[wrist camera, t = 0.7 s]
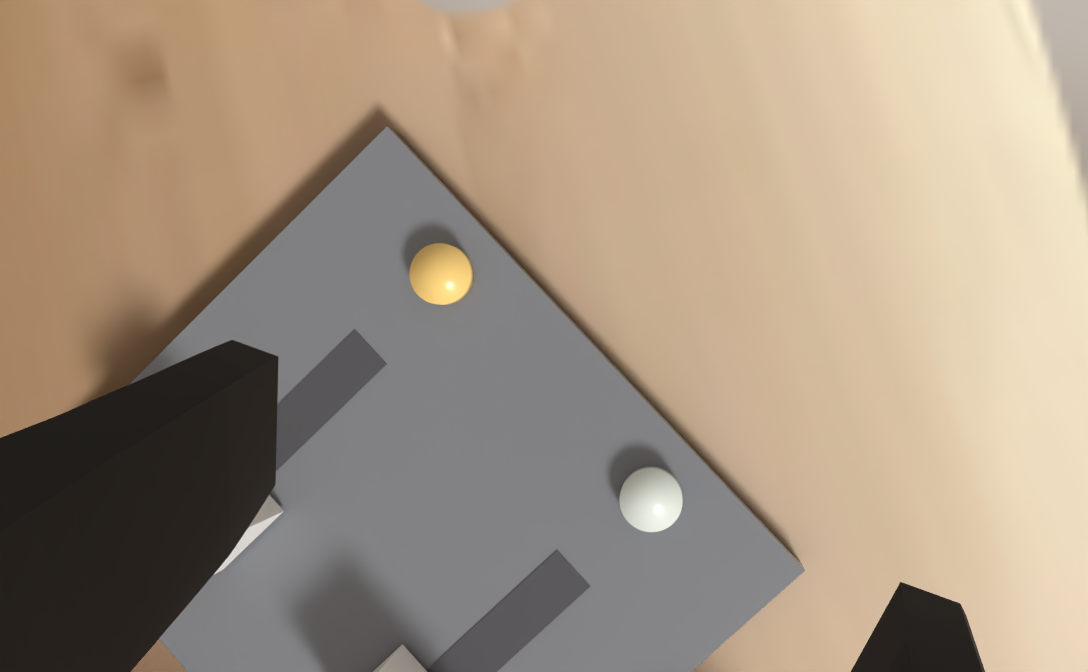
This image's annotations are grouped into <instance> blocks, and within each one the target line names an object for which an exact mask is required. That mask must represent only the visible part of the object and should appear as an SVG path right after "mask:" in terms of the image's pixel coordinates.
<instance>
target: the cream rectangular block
mask: <svg viewBox="0 0 1088 672" xmlns="http://www.w3.org/2000/svg"><path fill="white" fill-rule="evenodd" d="M373 672H427V671H426V670H425V669H424V668H423V666H422V665H421V664H420V663H419V662H418V661H417V660H416V659H415V657H414V656H413V655H412V654H411V653H410V652H409V651H408V650H407V648H406V647H405V646H404V645H403V644H402V645H401V646H400V647H399V648H398V649H397V650H396V651H394V652H393V653H392V654H391V655H390V656H389V657H388V658H387V659H386V660H385V661H384V662H383V663H382V664H380V665H379V666H378V667H377V668H376V669H375V670H374V671H373Z"/></svg>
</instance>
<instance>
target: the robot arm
mask: <svg viewBox="0 0 1088 672" xmlns="http://www.w3.org/2000/svg"><path fill="white" fill-rule="evenodd" d="M278 359H279V356H276V355H273V354H270V353H268V352H265V351H262V350H259V349H257V348H254V347H251V346H248V345H246V344H243V343H240V342H237V341H234V340H230V341H228V342H225V343H223V344H220V345H218V346H215V347H213V348H211V349H208V350H206V351H204V352H201V353H199V354H197V355H194V356H192V357H190V358H188V359H185V360H183V361H181V362H179V363H177V364H174V365H172V366H170V367H168V368H165V369H163V370H161V371H159V372H157V373H154V374H152V375H150V376H148V377H145V378H143V379H141V380H139V381H137V382H134V383H132V384H130V385H128V386H125V387H123V388H121V389H118V390H116V391H114V392H111V393H109V394H107V395H105V396H102V397H100V398H98V399H95V400H93V401H91V402H88V403H86V404H84V405H81V406H79V407H77V408H75V409H72V410H70V411H68V412H65V413H63V414H61V415H58V416H56V417H53V418H51V419H48V420H46V421H43V422H41V423H38V424H35V425H33V426H30V427H28V428H25V429H22V430H20V431H17V432H15V433H12V434H10V435H7V436H4V437H2V438H0V672H131V670H132V669H133V668H134V667H135V666H136V665H137V663H138V662H139V661H140V660H141V659H142V658H143V656H144V655H145V654H146V653H147V652H148V651H149V650H150V648H151V647H152V646H153V645H154V644H155V643H156V641H157V640H158V639H159V638H160V637H161V636H162V634H163V633H164V632H165V631H166V630H167V629H168V627H169V626H170V625H171V624H172V623H173V622H174V621H175V619H176V618H177V617H178V616H179V615H180V614H181V612H182V611H183V610H184V609H185V608H186V607H187V605H188V604H189V603H190V602H191V601H192V599H193V598H194V597H195V596H196V595H197V594H198V592H199V591H200V590H201V589H202V588H203V586H204V585H205V584H206V583H207V582H208V581H209V579H210V578H211V577H212V576H213V575H214V573H215V572H216V571H217V570H218V569H219V567H220V566H221V565H222V564H223V563H224V561H225V560H226V559H227V558H228V557H229V555H230V554H231V552H232V551H233V549H234V548H235V547H236V545H237V544H238V542H239V541H240V539H241V538H242V536H243V535H244V533H245V532H246V530H247V529H248V527H249V526H250V524H251V523H252V521H253V520H254V518H255V516H256V515H257V513H258V512H259V510H260V509H261V507H262V505H263V504H264V502H265V501H266V499H267V497H268V496H269V494H270V493H271V491H272V490H273V488H274V486H275V485H276V444H277V401H278ZM851 672H985V670H984V667H983V664H982V661H981V659H980V656H979V653H978V650H977V647H976V644H975V641H974V638H973V635H972V632H971V629H970V626H969V623H968V620H967V617H966V614H965V612H964V610H963V608H962V606H961V604H960V603H957V602H954V601H951V600H949V599H946V598H943V597H940V596H938V595H935V594H932V593H929V592H927V591H924V590H921V589H918V588H916V587H913V586H910V585H907V584H905V583H902V582H900V584H899V586H898V588H897V590H896V591H895V593H894V595H893V597H892V599H891V600H890V602H889V604H888V606H887V608H886V609H885V611H884V613H883V615H882V617H881V618H880V620H879V622H878V624H877V626H876V627H875V629H874V631H873V633H872V635H871V636H870V638H869V640H868V642H867V644H866V645H865V647H864V649H863V651H862V653H861V654H860V656H859V658H858V660H857V662H856V663H855V665H854V667H853V669H852V670H851Z"/></svg>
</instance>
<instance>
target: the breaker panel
mask: <svg viewBox="0 0 1088 672" xmlns="http://www.w3.org/2000/svg"><path fill="white" fill-rule="evenodd" d="M230 340H234V341H237V342H240V343H243V344H246V345H248V346H251V347H254V348H257V349H259V350H262V351H265V352H268V353H270V354H273V355H276V356H279V359H278V401H277V444H276V485H275V486H274V488H273V490H272V491H271V493H270V494H269V495H270V496H271V497H272V498H273V499H274V500H275V502H276V503H277V504H278V505H279V506H280V507H281V508H282V509H283V510H284V512H283V513H281V514H280V515H279V516H278V517H277V518H276V519H275V520H274V521H273V522H272V523H271V524H270V525H269V526H268V527H267V528H266V529H265V530H264V531H263V532H262V533H261V534H260V535H259V536H258V537H257V538H256V539H254V540H253V541H252V542H251V543H250V544H249V545H248V546H247V547H246V548H245V549H244V550H243V551H242V552H241V553H240V554H239V555H238V556H237V557H236V558H235V559H234V560H233V561H232V562H231V563H230V564H228V565H227V566H226V567H225V568H224V569H223V570H222V571H220V572H218V573H216V574H214V575H213V576H212V577H211V578H210V579H209V581H208V582H207V583H206V584H205V585H204V586H203V588H202V589H201V590H200V591H199V592H198V594H197V595H196V596H195V597H194V598H193V599H192V601H191V602H190V603H189V604H188V605H187V607H186V608H185V609H184V610H183V611H182V612H181V614H180V615H179V616H178V617H177V618H176V619H175V621H174V622H173V623H172V624H171V625H170V626H169V627H168V629H167V630H166V631H165V632H164V633H163V634H162V636H161V637H160V638H159V639H160V641H161V642H162V643H163V644H164V645H165V646H166V647H167V649H168V650H169V651H170V652H171V653H172V654H173V656H174V657H175V658H176V659H177V660H178V661H179V663H180V664H181V665H182V666H183V667H184V668H185V669H186V671H187V672H373V671H374V670H375V669H376V668H377V667H378V666H379V665H380V664H382V663H383V662H384V661H385V660H386V659H387V658H388V657H389V656H390V655H391V654H392V653H393V652H394V651H396V650H397V649H398V648H399V647H400V646H401V645H402V644H403V645H404V646H405V647H406V648H407V650H408V651H409V652H410V653H411V654H412V655H413V656H414V657H415V659H416V660H417V661H418V662H419V663H420V664H421V665H422V666H423V668H424V669H425V670H426V671H427V672H692V671H693V670H694V669H695V668H696V667H697V666H698V665H699V664H700V663H702V662H703V661H704V660H705V659H706V658H707V657H708V656H709V655H711V654H712V653H713V652H714V651H715V650H716V649H717V648H718V647H720V646H721V645H722V644H723V643H724V642H725V641H726V640H727V639H729V638H730V637H731V636H732V635H733V634H734V633H735V632H736V631H738V630H739V629H740V628H741V627H742V626H743V625H744V624H745V623H747V622H748V621H749V620H750V619H751V618H752V617H753V616H754V615H756V614H757V613H758V612H759V611H760V610H761V609H762V608H763V607H764V606H766V605H767V604H768V603H769V602H770V601H771V600H772V599H773V598H775V597H776V596H777V595H778V594H779V593H780V592H781V591H782V590H784V589H785V588H786V587H787V586H788V585H789V584H790V583H791V582H793V581H794V580H795V579H796V578H797V577H798V576H799V575H800V574H802V573H803V572H804V571H805V570H804V568H803V566H802V564H801V563H800V562H799V561H798V559H797V558H796V557H795V556H794V555H793V554H792V553H791V552H790V551H789V550H788V549H787V548H786V547H785V546H784V545H783V544H782V542H781V541H780V540H779V539H778V538H777V537H776V536H775V535H774V534H773V533H772V532H771V531H770V530H769V529H768V528H767V527H766V526H765V524H764V523H763V522H762V521H761V520H760V519H759V518H758V517H757V516H756V515H755V514H754V513H753V512H752V511H751V510H750V509H749V507H748V506H747V505H746V504H745V503H744V502H743V501H742V500H741V499H740V498H739V497H738V496H737V495H736V494H735V493H734V492H733V490H732V489H731V488H730V487H729V486H728V485H727V484H726V483H725V482H724V481H723V480H722V479H721V478H720V477H719V476H718V475H717V473H716V472H715V471H714V470H713V469H712V468H711V467H710V466H709V465H708V464H707V463H706V462H705V461H704V460H703V459H702V458H701V456H700V455H699V454H698V453H697V452H696V451H695V450H694V449H693V448H692V447H691V446H690V445H689V444H688V443H687V442H686V441H685V439H684V438H683V437H682V436H681V435H680V434H679V433H678V432H677V431H676V430H675V429H674V428H673V427H672V426H671V425H670V424H669V422H668V421H667V420H666V419H665V418H664V417H663V416H662V415H661V414H660V413H659V412H658V411H657V410H656V409H655V408H654V407H653V405H652V404H651V403H650V402H649V401H648V400H647V399H646V398H645V397H644V396H643V395H642V394H641V393H640V392H639V391H638V390H637V388H636V387H635V386H634V385H633V384H632V383H631V382H630V381H629V380H628V379H627V378H626V377H625V376H624V375H623V374H622V373H621V371H620V370H619V369H618V368H617V367H616V366H615V365H614V364H613V363H612V362H611V361H610V360H609V359H608V358H607V357H606V356H605V354H604V353H603V352H602V351H601V350H600V349H599V348H598V347H597V346H596V345H595V344H594V343H593V342H592V341H591V340H590V339H589V337H588V336H587V335H586V334H585V333H584V332H583V331H582V330H581V329H580V328H579V327H578V326H577V325H576V324H575V323H574V322H573V321H572V319H571V318H570V317H569V316H568V315H567V314H566V313H565V312H564V311H563V310H562V309H561V308H560V307H559V306H558V305H557V304H556V302H555V301H554V300H553V299H552V298H551V297H550V296H549V295H548V294H547V293H546V292H545V291H544V290H543V289H542V288H541V287H540V285H539V284H538V283H537V282H536V281H535V280H534V279H533V278H532V277H531V276H530V275H529V274H528V273H527V272H526V271H525V270H524V268H523V267H522V266H521V265H520V264H519V263H518V262H517V261H516V260H515V259H514V258H513V257H512V256H511V255H510V254H509V253H508V251H507V250H506V249H505V248H504V247H503V246H502V245H501V244H500V243H499V242H498V241H497V240H496V239H495V238H494V237H493V236H492V234H491V233H490V232H489V231H488V230H487V229H486V228H485V227H484V226H483V225H482V224H481V223H480V222H479V221H478V220H477V219H476V217H475V216H474V215H473V214H472V213H471V212H470V211H469V210H468V209H467V208H466V207H465V206H464V205H463V204H462V203H461V202H460V200H459V199H458V198H457V197H456V196H455V195H454V194H453V193H452V192H451V191H450V190H449V189H448V188H447V187H446V186H445V185H444V183H443V182H442V181H441V180H440V179H439V178H438V177H437V176H436V175H435V174H434V173H433V172H432V171H431V170H430V169H429V168H428V166H427V165H426V164H425V163H424V162H423V161H422V160H421V159H420V158H419V157H418V156H417V155H416V154H415V153H414V152H413V151H412V149H411V148H410V147H409V146H408V145H407V144H406V143H405V142H404V141H403V140H402V139H401V138H400V137H399V136H398V135H397V134H396V133H395V132H394V131H393V130H391V129H390V128H389V127H386V128H385V129H384V130H383V131H382V132H381V133H380V134H379V135H378V136H377V137H376V138H375V139H374V140H373V141H372V142H371V143H370V144H369V145H368V146H367V147H366V148H365V149H364V150H363V151H362V152H361V153H360V154H359V155H358V156H357V157H356V158H355V159H354V160H353V161H352V162H351V163H350V164H349V165H348V166H347V167H346V168H345V169H344V170H343V171H342V172H341V173H340V174H339V175H338V176H337V177H336V178H335V179H334V180H333V181H332V182H331V183H330V184H329V185H328V186H327V187H326V188H325V189H324V190H323V191H322V192H321V193H320V194H319V195H318V196H317V197H316V198H315V199H314V200H313V201H312V202H311V203H310V204H309V205H308V206H307V207H306V208H305V209H304V210H303V211H302V212H301V213H300V214H299V215H298V216H297V217H296V218H295V219H294V220H293V221H292V222H291V223H290V224H289V225H288V226H287V227H286V228H285V229H284V230H283V231H282V232H281V233H280V234H279V235H278V236H277V237H276V238H275V239H274V240H273V241H272V242H271V243H270V244H269V245H268V246H267V247H266V248H265V249H264V250H263V251H262V252H261V253H260V254H259V255H258V256H257V257H256V258H255V259H254V260H253V261H252V262H251V263H250V264H249V265H248V266H247V267H246V268H245V269H244V270H243V271H242V272H241V273H240V274H239V275H238V276H237V277H236V278H235V279H234V280H233V281H232V282H231V283H230V284H229V285H228V286H227V287H226V288H225V289H224V290H223V291H222V292H221V293H220V294H219V295H218V296H217V297H216V298H215V299H214V300H213V301H212V302H211V303H210V304H209V305H208V306H207V307H206V308H205V309H204V310H203V311H202V312H201V313H200V314H199V315H198V316H197V317H196V318H195V319H194V320H193V321H192V322H191V323H190V324H189V325H188V326H187V327H186V328H185V329H184V330H183V331H182V332H181V333H180V334H179V335H178V336H177V337H176V338H175V339H174V340H173V341H172V342H171V343H170V344H169V345H168V346H167V347H166V348H165V349H164V350H163V351H162V352H161V353H160V354H159V355H158V356H157V357H156V358H155V359H154V360H153V361H152V362H151V363H150V364H149V365H148V366H147V367H146V368H145V369H144V370H143V371H142V372H141V373H140V374H139V375H138V376H137V377H136V378H135V379H134V380H133V381H132V382H131V383H130V384H132V383H134V382H137V381H139V380H141V379H143V378H145V377H148V376H150V375H152V374H154V373H157V372H159V371H161V370H163V369H165V368H168V367H170V366H172V365H174V364H177V363H179V362H181V361H183V360H185V359H188V358H190V357H192V356H194V355H197V354H199V353H201V352H204V351H206V350H208V349H211V348H213V347H215V346H218V345H220V344H223V343H225V342H228V341H230ZM130 384H129V385H130Z"/></svg>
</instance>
